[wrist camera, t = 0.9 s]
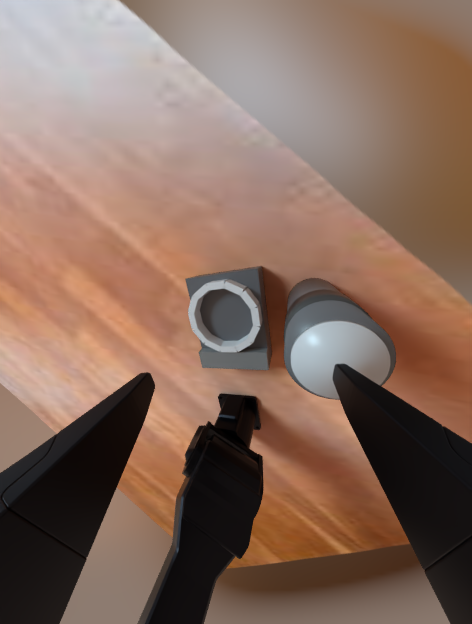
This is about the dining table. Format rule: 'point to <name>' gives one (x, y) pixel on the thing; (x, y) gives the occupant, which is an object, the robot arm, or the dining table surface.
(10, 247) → the dining table surface
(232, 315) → the camera body
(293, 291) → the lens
